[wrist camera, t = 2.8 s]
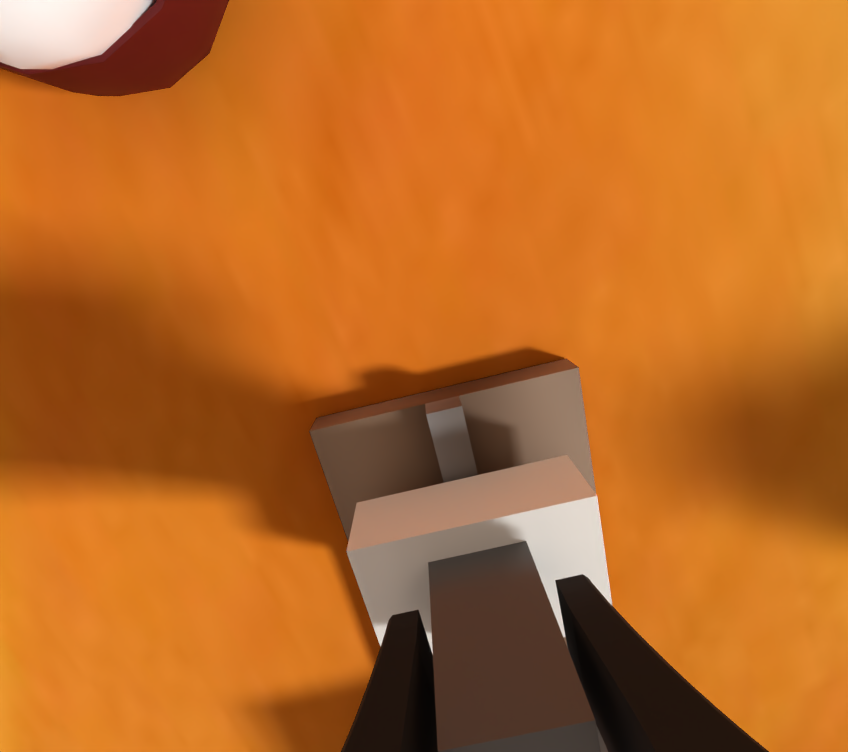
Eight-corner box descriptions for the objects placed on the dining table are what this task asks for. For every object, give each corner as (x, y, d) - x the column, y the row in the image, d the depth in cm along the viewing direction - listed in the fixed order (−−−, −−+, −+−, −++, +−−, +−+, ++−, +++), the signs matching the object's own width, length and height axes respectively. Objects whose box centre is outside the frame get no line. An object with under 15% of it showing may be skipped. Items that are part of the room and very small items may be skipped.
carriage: (393, 611, 13) (379, 894, 7) (356, 502, 12) (306, 738, 6) (585, 570, 13) (723, 830, 7) (567, 454, 12) (715, 656, 6)
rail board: (445, 815, 19) (459, 1055, 14) (305, 420, 13) (226, 550, 8) (628, 780, 19) (721, 1012, 13) (566, 358, 13) (686, 447, 7)
